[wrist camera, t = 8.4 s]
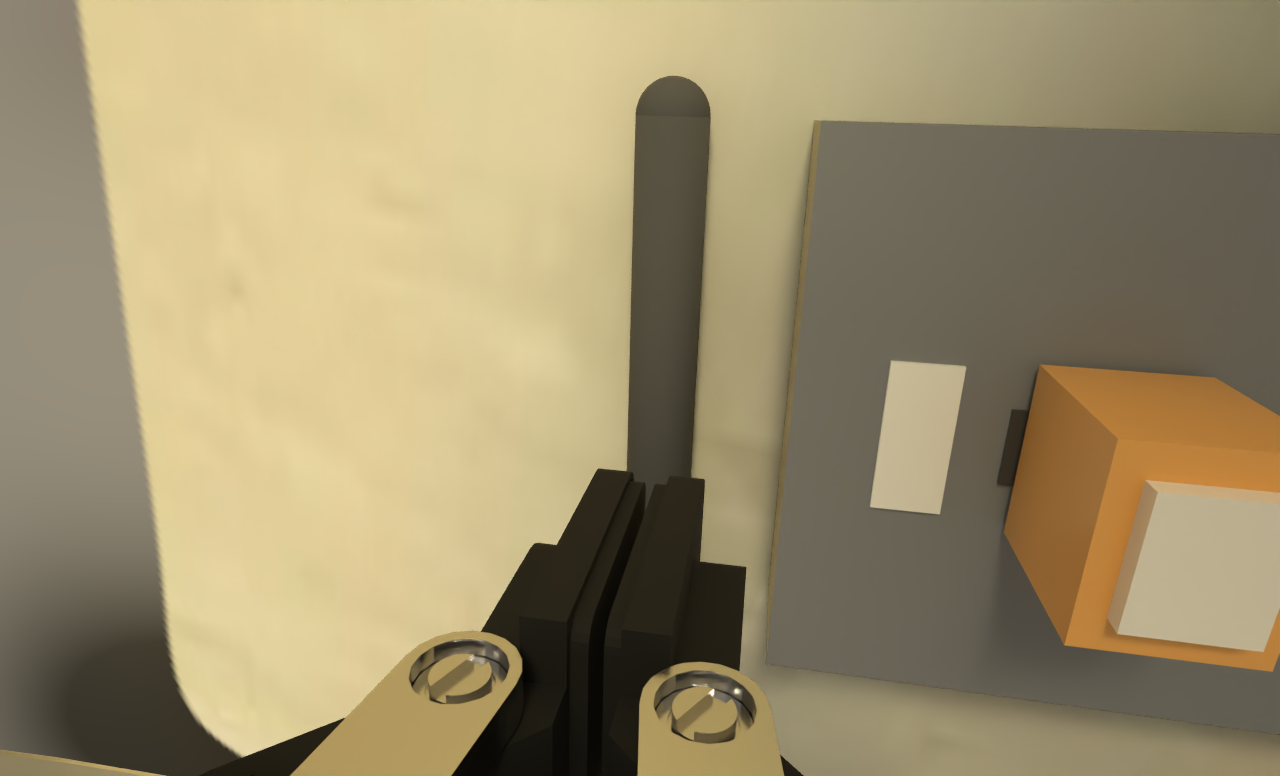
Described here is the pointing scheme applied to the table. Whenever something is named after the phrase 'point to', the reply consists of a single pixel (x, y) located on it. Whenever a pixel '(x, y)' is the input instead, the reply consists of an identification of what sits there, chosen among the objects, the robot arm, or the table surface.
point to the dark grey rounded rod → (666, 277)
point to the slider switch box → (999, 386)
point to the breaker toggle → (1152, 515)
